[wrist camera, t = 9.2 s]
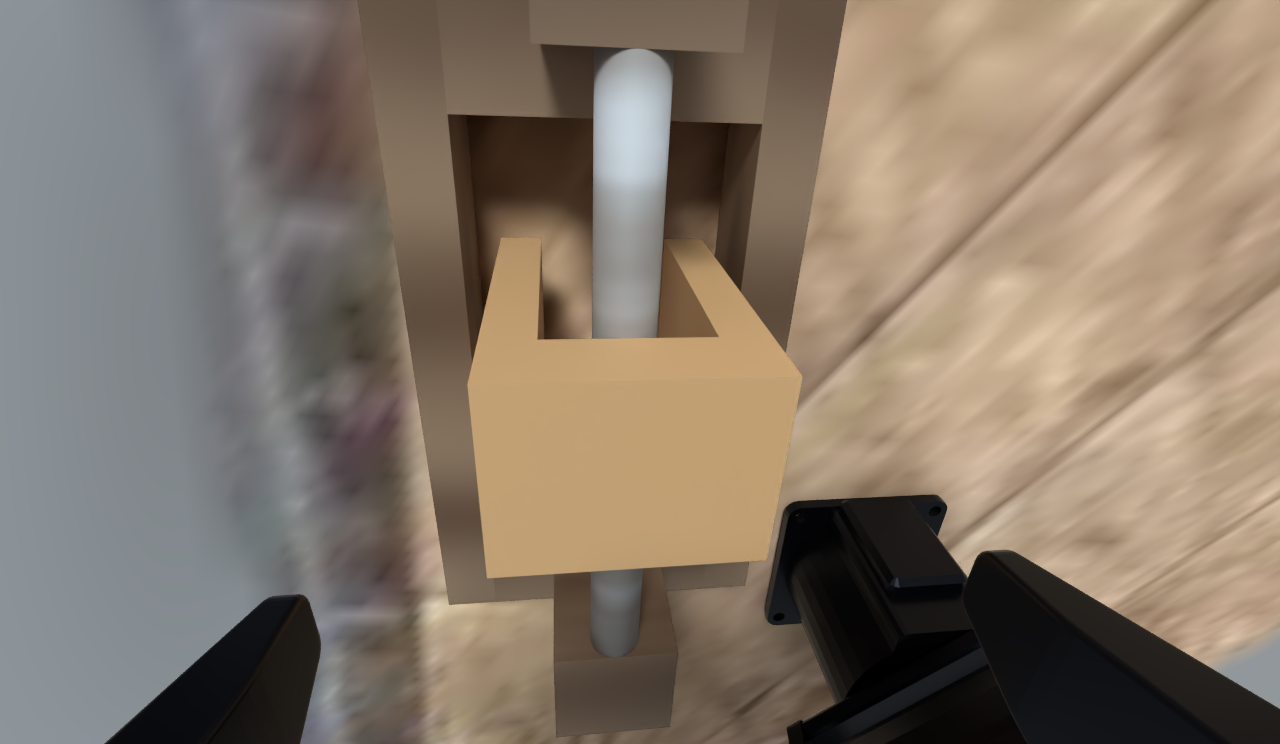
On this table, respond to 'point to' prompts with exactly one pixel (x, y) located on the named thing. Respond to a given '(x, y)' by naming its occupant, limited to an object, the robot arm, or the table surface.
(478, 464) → the clip
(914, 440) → the table surface
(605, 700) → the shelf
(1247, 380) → the table surface
